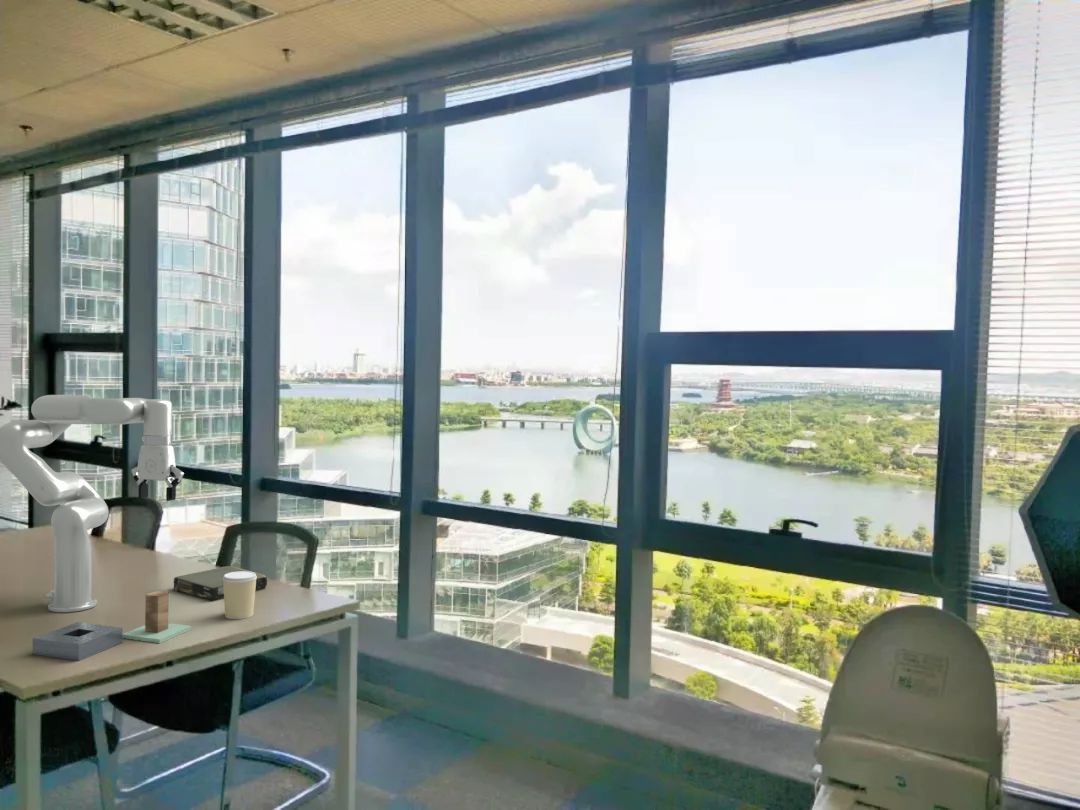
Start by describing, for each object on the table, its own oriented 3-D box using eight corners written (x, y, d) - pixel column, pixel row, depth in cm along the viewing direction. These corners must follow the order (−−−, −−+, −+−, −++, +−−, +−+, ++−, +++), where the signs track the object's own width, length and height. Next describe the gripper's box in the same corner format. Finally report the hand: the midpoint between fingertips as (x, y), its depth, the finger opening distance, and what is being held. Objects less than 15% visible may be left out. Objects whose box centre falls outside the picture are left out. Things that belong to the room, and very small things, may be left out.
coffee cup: (260, 610, 240) (261, 571, 240) (250, 620, 231) (250, 579, 231) (228, 610, 240) (229, 570, 240) (217, 619, 231) (218, 578, 230)
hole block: (32, 654, 199) (32, 638, 199) (78, 636, 213) (78, 622, 212) (78, 660, 195) (78, 644, 195) (122, 642, 209) (122, 627, 209)
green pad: (121, 638, 213) (121, 634, 213) (154, 625, 224) (154, 621, 224) (159, 643, 210) (159, 639, 210) (190, 629, 221) (190, 626, 221)
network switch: (165, 593, 258) (165, 577, 258) (224, 578, 278) (225, 563, 278) (216, 604, 247) (216, 588, 247) (274, 588, 268) (274, 573, 268)
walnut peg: (145, 631, 215) (145, 594, 215) (155, 627, 219) (156, 591, 219) (157, 633, 214) (158, 596, 214) (168, 628, 218) (168, 592, 218)
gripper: (123, 440, 234) (122, 499, 235) (173, 443, 230) (172, 503, 230) (142, 439, 241) (141, 495, 242) (191, 441, 237) (190, 499, 237)
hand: (157, 499), depth 236 cm, fingers open, 9 cm apart
